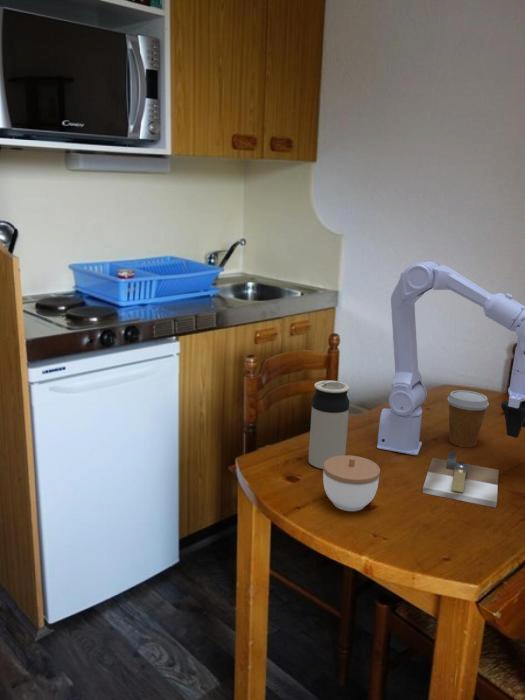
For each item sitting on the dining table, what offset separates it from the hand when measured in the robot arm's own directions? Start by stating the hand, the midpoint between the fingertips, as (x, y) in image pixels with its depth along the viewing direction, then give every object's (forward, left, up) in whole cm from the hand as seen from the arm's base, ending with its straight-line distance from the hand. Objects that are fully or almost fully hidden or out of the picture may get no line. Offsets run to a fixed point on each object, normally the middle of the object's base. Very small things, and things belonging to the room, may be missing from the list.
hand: (517, 431), depth 132 cm
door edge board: (-10, -10, -10) cm, 17 cm away
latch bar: (-10, -13, -8) cm, 19 cm away
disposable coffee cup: (-11, +14, -10) cm, 21 cm away
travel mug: (-38, -13, -10) cm, 42 cm away
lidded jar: (-29, -29, -10) cm, 42 cm away
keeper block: (-12, -5, -9) cm, 16 cm away
